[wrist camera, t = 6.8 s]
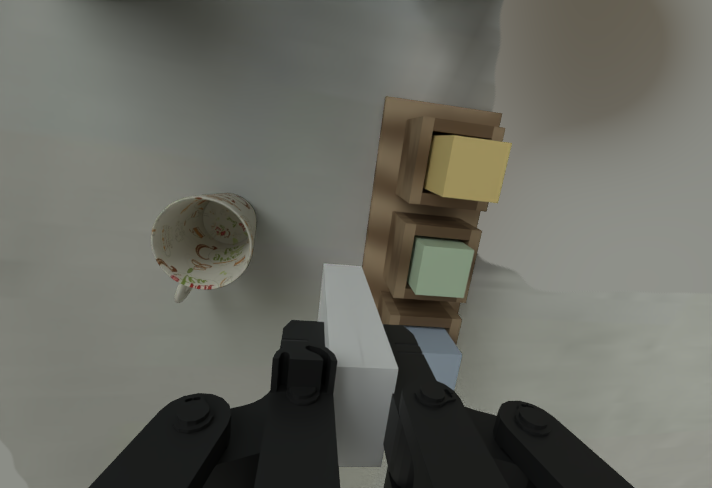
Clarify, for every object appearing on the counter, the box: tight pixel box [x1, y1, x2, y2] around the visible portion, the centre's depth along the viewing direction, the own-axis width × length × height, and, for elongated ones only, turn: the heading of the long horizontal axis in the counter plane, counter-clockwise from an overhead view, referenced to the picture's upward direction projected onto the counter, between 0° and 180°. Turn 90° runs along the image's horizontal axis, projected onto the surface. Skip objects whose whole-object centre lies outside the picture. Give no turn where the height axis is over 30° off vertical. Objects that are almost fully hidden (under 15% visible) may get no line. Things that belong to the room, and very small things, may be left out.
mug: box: [151, 193, 256, 303], centre depth 36 cm, size 8×13×10 cm, turn 151°
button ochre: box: [423, 135, 512, 203], centre depth 33 cm, size 5×5×7 cm
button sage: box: [407, 235, 474, 298], centre depth 38 cm, size 5×5×7 cm
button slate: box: [403, 325, 462, 390], centre depth 38 cm, size 5×5×7 cm
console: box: [362, 96, 505, 345], centre depth 40 cm, size 32×13×7 cm, turn 173°
